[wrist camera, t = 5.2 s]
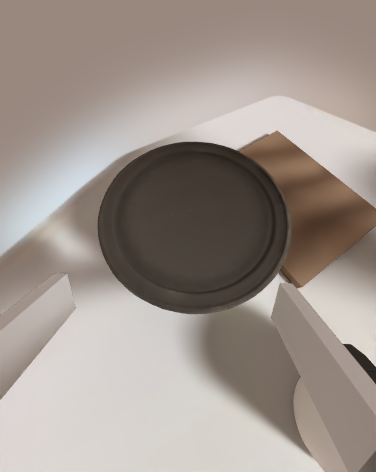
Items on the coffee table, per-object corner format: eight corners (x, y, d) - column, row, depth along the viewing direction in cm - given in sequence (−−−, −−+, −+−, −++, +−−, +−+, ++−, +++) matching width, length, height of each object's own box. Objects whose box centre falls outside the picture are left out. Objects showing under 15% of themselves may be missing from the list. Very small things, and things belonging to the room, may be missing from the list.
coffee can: (174, 331, 20) (145, 366, 7) (137, 253, 23) (73, 179, 10) (249, 284, 22) (338, 243, 9) (205, 218, 25) (222, 120, 12)
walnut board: (377, 221, 25) (386, 217, 24) (296, 288, 22) (302, 287, 20) (274, 136, 32) (277, 130, 30) (199, 178, 28) (199, 172, 27)
